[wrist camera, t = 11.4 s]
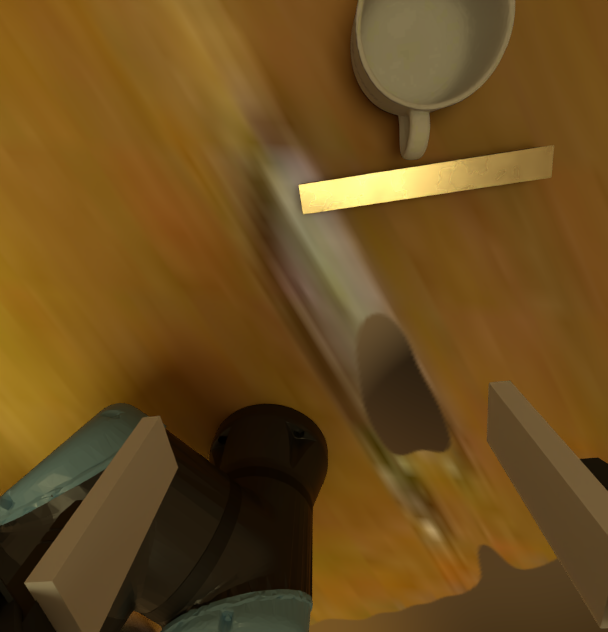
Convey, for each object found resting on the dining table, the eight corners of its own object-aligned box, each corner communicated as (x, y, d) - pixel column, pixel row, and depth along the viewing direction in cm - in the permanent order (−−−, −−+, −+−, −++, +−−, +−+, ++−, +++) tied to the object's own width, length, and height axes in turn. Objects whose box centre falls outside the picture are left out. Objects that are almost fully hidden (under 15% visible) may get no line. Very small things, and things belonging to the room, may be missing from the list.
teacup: (366, -39, 30) (380, -106, 23) (493, -7, 31) (548, -63, 23) (326, 145, 36) (328, 139, 28) (436, 170, 36) (466, 171, 28)
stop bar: (304, 210, 38) (303, 214, 35) (300, 183, 37) (298, 185, 34) (531, 176, 36) (551, 177, 33) (533, 147, 35) (554, 145, 32)
